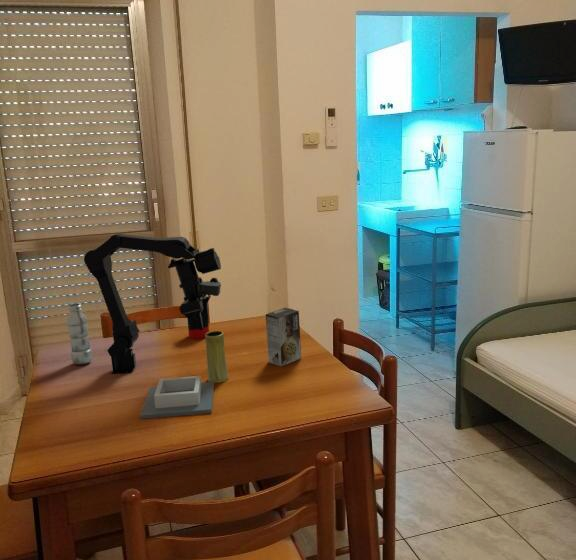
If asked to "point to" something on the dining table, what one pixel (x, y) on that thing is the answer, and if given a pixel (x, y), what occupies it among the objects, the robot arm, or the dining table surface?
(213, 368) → the vase
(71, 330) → the plastic bottle
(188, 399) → the holder
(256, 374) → the dining table surface
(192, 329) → the soda can
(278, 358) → the coffee box
